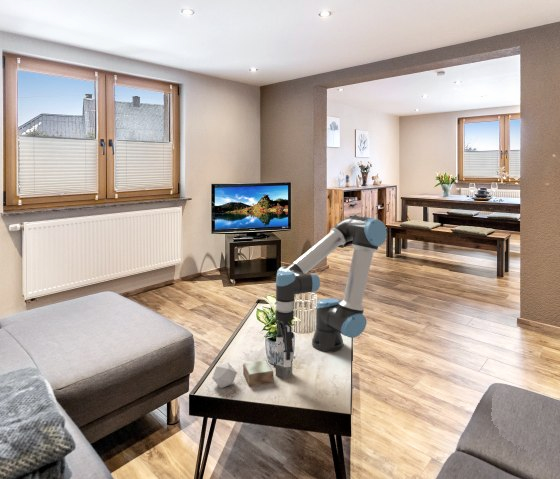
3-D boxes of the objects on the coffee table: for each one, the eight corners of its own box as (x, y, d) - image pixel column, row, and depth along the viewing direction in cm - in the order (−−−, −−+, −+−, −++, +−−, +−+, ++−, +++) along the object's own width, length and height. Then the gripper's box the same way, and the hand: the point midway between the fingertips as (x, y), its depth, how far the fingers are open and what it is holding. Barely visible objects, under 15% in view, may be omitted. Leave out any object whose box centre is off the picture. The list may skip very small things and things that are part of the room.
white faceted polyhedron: (230, 378, 164) (214, 360, 162) (244, 373, 159) (229, 355, 157) (220, 394, 157) (204, 376, 155) (234, 390, 152) (218, 372, 150)
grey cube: (275, 375, 165) (275, 364, 164) (281, 370, 170) (281, 359, 169) (286, 378, 163) (286, 367, 162) (292, 373, 167) (292, 362, 166)
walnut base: (266, 371, 169) (266, 359, 168) (273, 383, 160) (273, 371, 159) (243, 374, 166) (243, 363, 165) (249, 387, 157) (248, 374, 156)
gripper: (269, 300, 173) (268, 347, 176) (283, 321, 149) (281, 374, 152) (286, 299, 174) (284, 345, 178) (302, 320, 150) (300, 372, 154)
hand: (283, 359), depth 165 cm, fingers open, 13 cm apart
